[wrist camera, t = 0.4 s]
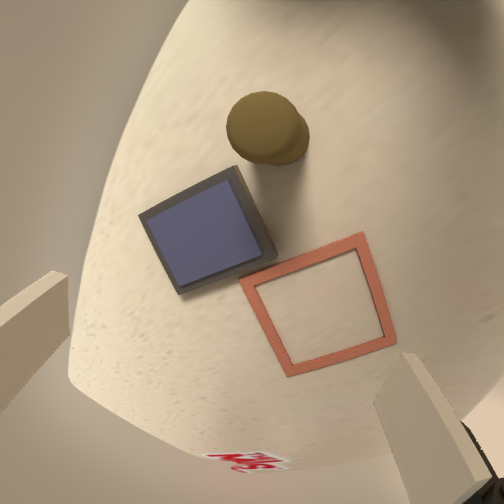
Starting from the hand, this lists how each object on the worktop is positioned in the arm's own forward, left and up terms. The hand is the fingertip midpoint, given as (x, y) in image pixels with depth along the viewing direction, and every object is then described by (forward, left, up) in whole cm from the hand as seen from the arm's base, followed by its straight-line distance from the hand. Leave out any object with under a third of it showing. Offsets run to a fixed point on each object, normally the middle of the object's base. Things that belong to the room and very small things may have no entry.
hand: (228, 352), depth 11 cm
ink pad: (+8, -2, -22) cm, 24 cm away
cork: (-3, -8, -23) cm, 24 cm away
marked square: (0, +11, -22) cm, 25 cm away
